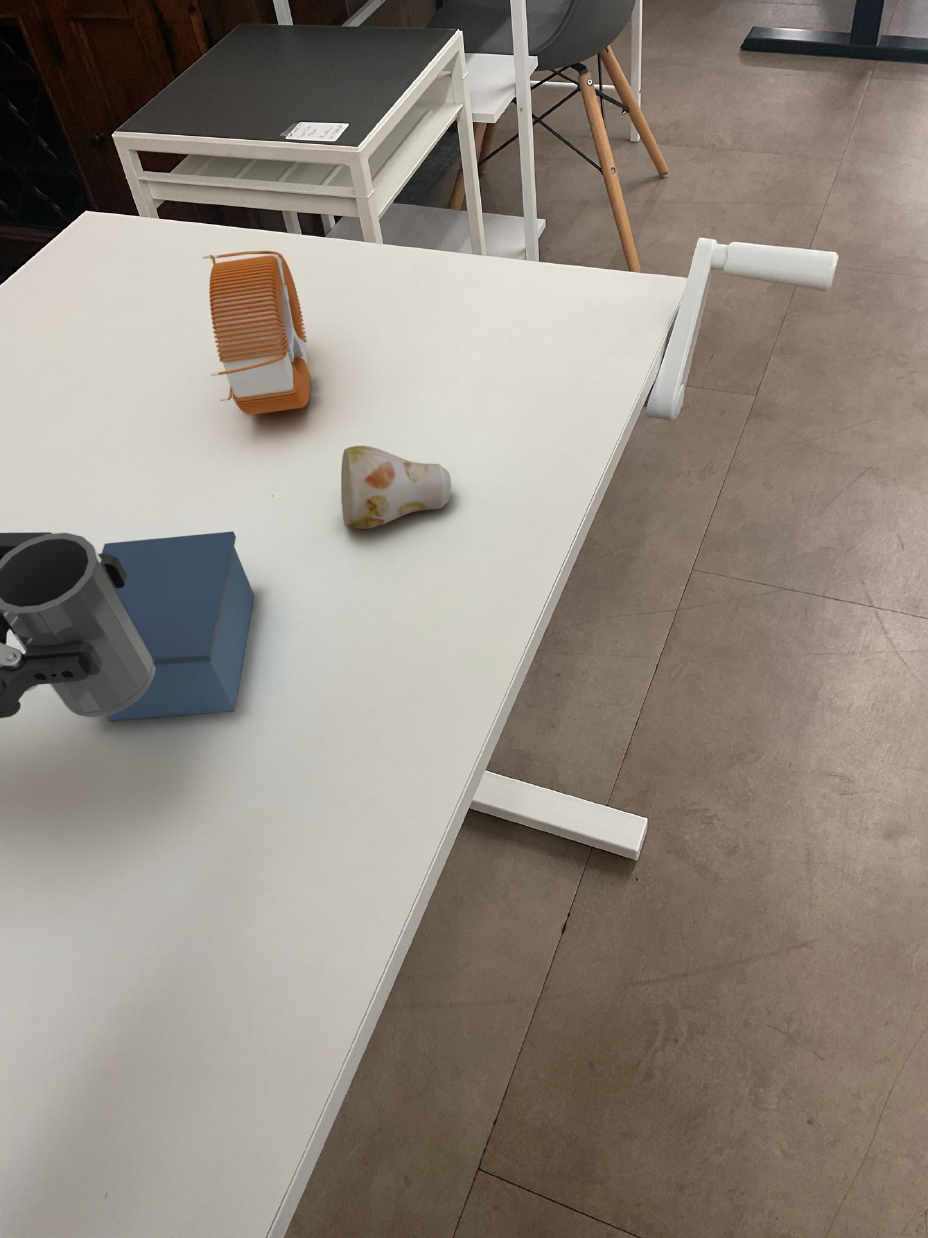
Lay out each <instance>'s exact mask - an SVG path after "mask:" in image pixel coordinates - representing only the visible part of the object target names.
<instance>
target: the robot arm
mask: <svg viewBox="0 0 928 1238" xmlns="http://www.w3.org/2000/svg"><path fill="white" fill-rule="evenodd" d="M46 534H53V532H50V531H49V532H47V531H44V532H43V531H42V532H41V531H39V532H37V531H36V532H35V531H34V532H0V560H1V559H2V558H3V557H4V556H5V555H6V554H7V553H8V552H10V551H11V550H13V549H14V548H16V547H18V546H19V545H21V544H22V543H24V542H26V541H28V540H31V539H34V538H37V537H40V536H43V535H46ZM98 555H99V557H100V558H101V560H102V562H103V564H104V566H105V567H106V569H107V571H108V573H109V575H110V576H111V578H112V580H113V582H114V584H115V586H116V587H117V588H122V587H124V585H125V582H126V578H127V574H126V572H125V570H124V569H123V567H122V565H121V563H120V561H119V560H118V559H117V558H116V557H113V556H111V555H110V554H105V553H102V552H101V553H98ZM9 631H10V628H9V627H8V625H7V624H6V623H5V621H4V620H3V618H2V617H1V615H0V719H7V718H10V717H13V716H15V715H16V714H18V713H19V711H20V710H21V702H20V700H21V698H22V697H23V696H24V694H25V693H26V692H29V691H32V690H34V689H36V688H37V686H40V685H49V684H53V683H61V682H62V683H65V682H78V681H81V680H84V679H86V678H88V676H90V675H97V674H99V672H100V668H101V665H102V660H101V658H100V657H99V655H98V653H97V652H96V650H95V649H94V647H93V646H92V645H91V644H89V643H86V642H77V643H65V644H58V645H47V646H29V647H27V649H26V651H25V653H22V651H21V650H20V649H18V648H15V647H13V646H10V645H8V643H7V641H8V632H9Z"/></svg>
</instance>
